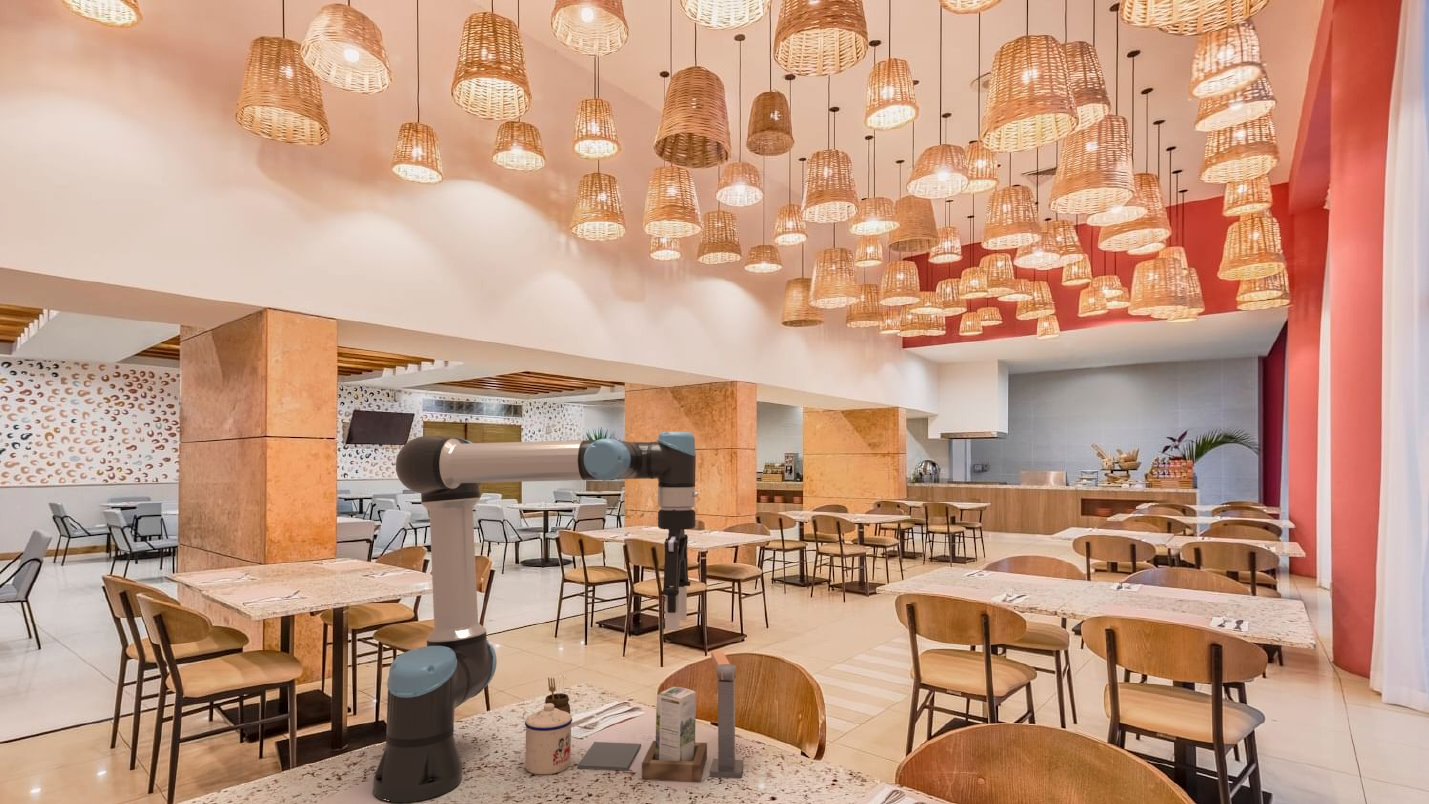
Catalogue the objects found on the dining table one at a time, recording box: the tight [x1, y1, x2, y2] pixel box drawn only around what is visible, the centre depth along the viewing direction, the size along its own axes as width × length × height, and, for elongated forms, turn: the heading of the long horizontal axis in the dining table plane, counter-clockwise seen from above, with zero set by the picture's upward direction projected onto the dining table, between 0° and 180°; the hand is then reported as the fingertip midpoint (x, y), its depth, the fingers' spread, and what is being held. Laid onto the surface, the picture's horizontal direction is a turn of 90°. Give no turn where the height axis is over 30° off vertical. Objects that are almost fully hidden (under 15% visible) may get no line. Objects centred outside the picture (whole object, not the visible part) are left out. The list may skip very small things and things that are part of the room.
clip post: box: [709, 678, 744, 779], centre depth 137 cm, size 6×6×17 cm
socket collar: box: [641, 740, 708, 783], centre depth 138 cm, size 11×11×3 cm
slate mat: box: [576, 741, 642, 772], centre depth 143 cm, size 10×12×1 cm
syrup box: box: [655, 686, 697, 762], centre depth 138 cm, size 6×6×14 cm
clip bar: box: [710, 649, 737, 680], centre depth 145 cm, size 16×4×2 cm, turn 7°
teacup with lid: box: [524, 703, 573, 775], centre depth 141 cm, size 12×9×12 cm
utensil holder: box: [544, 675, 571, 715], centre depth 159 cm, size 6×6×12 cm
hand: (676, 624), depth 140 cm, fingers open, 8 cm apart
